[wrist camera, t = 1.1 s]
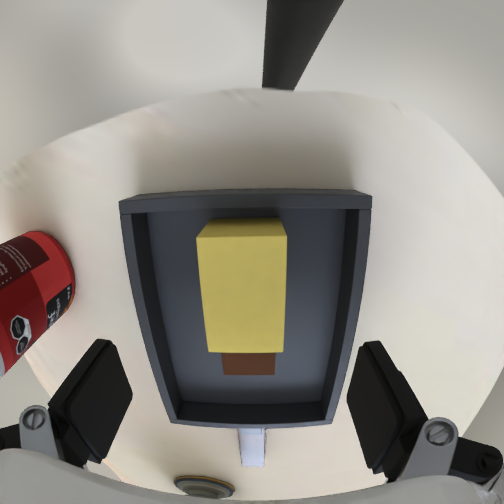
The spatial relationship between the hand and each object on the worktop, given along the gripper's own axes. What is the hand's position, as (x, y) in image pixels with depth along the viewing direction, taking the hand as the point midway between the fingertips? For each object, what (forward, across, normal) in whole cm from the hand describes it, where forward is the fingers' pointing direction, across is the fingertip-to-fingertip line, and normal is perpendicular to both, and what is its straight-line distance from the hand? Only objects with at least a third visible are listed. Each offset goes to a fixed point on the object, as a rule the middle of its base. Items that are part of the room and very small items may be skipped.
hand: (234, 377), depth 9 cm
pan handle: (+10, 0, +20) cm, 22 cm away
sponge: (+10, 0, 0) cm, 10 cm away
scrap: (+10, 0, +6) cm, 11 cm away
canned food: (+10, +18, 0) cm, 21 cm away
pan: (+10, 0, +4) cm, 11 cm away
